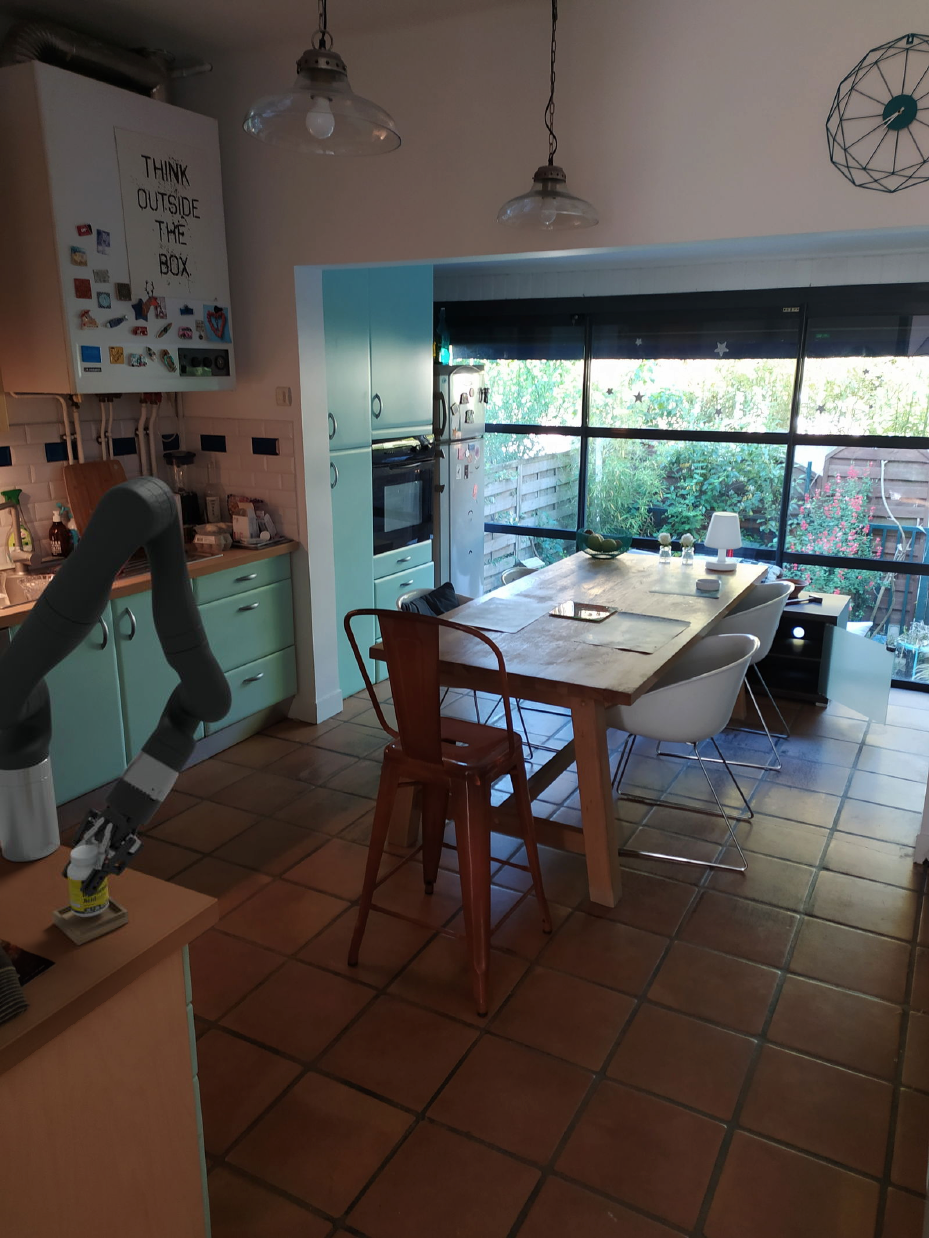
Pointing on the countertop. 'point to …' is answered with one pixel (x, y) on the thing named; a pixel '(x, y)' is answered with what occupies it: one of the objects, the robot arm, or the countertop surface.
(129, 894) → the countertop surface
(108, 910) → the wooden tray
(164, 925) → the countertop surface
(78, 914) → the supplement bottle
